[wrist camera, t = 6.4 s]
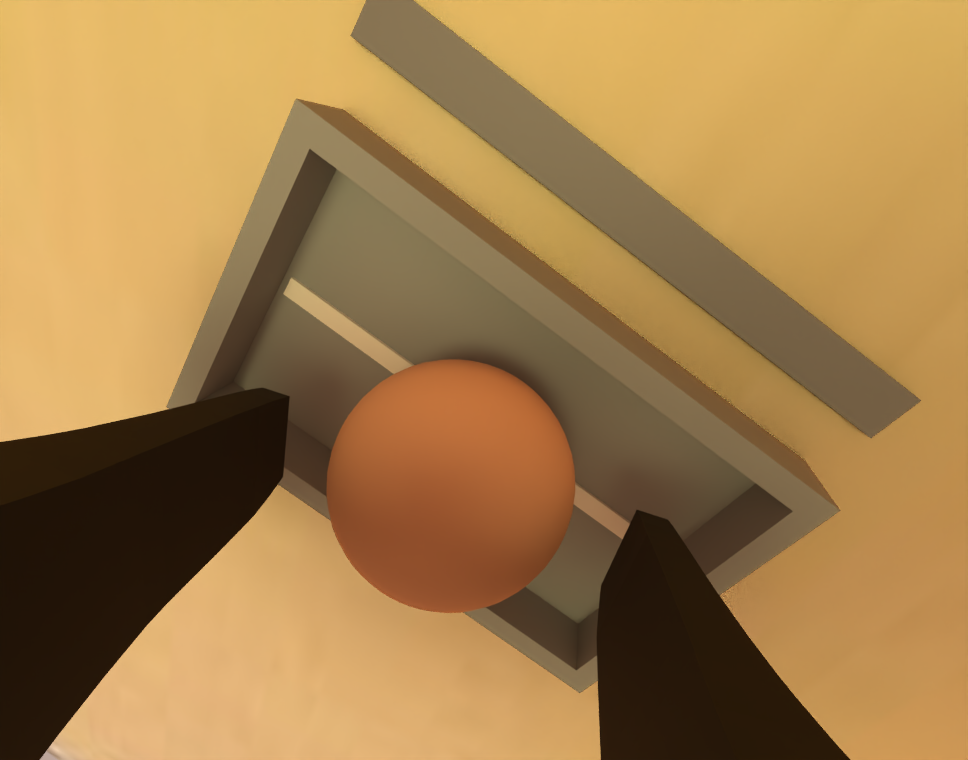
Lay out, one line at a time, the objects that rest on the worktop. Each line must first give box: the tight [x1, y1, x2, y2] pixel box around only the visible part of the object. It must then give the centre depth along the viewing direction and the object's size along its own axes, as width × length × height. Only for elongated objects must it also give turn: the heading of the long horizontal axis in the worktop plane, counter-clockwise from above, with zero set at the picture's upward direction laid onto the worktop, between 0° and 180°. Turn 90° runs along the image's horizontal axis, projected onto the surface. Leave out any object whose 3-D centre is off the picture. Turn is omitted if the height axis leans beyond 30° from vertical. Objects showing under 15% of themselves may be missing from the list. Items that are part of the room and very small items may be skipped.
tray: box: [167, 99, 840, 693], centre depth 12 cm, size 13×8×2 cm, turn 55°
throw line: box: [351, 0, 921, 438], centre depth 10 cm, size 14×1×1 cm, turn 55°
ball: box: [327, 359, 575, 613], centre depth 10 cm, size 5×5×5 cm
